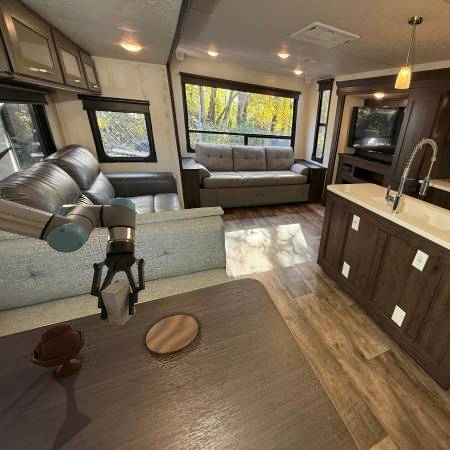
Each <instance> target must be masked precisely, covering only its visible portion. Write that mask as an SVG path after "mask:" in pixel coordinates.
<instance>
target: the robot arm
mask: <svg viewBox="0 0 450 450" xmlns="http://www.w3.org/2000/svg"><path fill="white" fill-rule="evenodd" d="M136 209H137V207H136V203H135V201H134V200H132V199H129V198H126V197H116V198H111V199H110V200H109V203H108V204H101V205H100V204H78V203H77V204H76V203H75V204H74V203H73V204H64V205H61V206H59V208H58V211H57V214H56V213H52V212H50V211H46V210H43V209H39V208H35V207H33V206H28V205H24V204H21V203H19V202H14V201H11V200H8V199H5V198H4V199H3V198H0V231H2V232H5V233H10V234H14V235H18V236H21V237H27V238H30V239H35V240H40V241H44V242H46V243H47V245H48V246H49V247H50V248H51V249H53V250H54V251H56V252H58V253H63V254H64V253H65V254H67V253H68V254H69V253H73V252H76V251H78V250H80V249H82V247H84V245H85V244H86V243H87V242H88V241H89V239H90V236H91V234H92V232H93V231H94V229H107V233H106V246H105V247H106V250H105V258H104V259H103V261H100V262H98V263H97V262H94V263H93V264H92V268H93V276H92V282H91V287H90V293H89V294H90V296H92V297H97V309H99V310H100V320H101V321H106V320H108V315H107V311H106V308H105V304H104V301H103V297H102V294H101V291H103V290H104V289H105V288H107V287H108V286H109V285H110V284H112V283H113V280H114V277H115V276H116V274H117V273H122V272H123V273H125V275H126V278H127V280H128V281H127V282H129V285H130V289H131V293H129V315H133V316H134V315H135V314H134V306H135V304H138V302H139V293H140V292H141V291H145V289H146V280H145V279H146V278H145V265H146V260H145V259H144V258H136V253H135V252H136V245H135V242H136V223H137V221H136V219H137V210H136ZM134 264H136V265H137V278H138V281H137V282H138V285H137V282H136V280H135V276H134V274H133V270H132V267H133V266H134ZM105 266H106V267H107V271H106V276H105V277H104V279H103V281H102V275H103V270H104V268H105ZM101 281H102V284H101Z"/></svg>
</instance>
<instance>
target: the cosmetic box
mask: <svg viewBox="0 0 450 450" xmlns="http://www.w3.org/2000/svg"><path fill="white" fill-rule="evenodd" d="M129 293H132V289H131V286H130V283H129V281H127V280H119V279H116V280H115V281H114V282H111V284H110V285H109V286H108V287H107V288H105V289H104V290H103V291H101V294H102V297H103V301H104V304H105V308H106V311H107V319H108V322H109V324H111V325H116V326H123V325H125V324H126V322H128V321H129V320H130V319H131V318H132V317H133V316H134V315H135V314H136V313H137V311H136V307H135V305H134V315H129Z"/></svg>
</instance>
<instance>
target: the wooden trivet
mask: <svg viewBox="0 0 450 450" xmlns="http://www.w3.org/2000/svg"><path fill="white" fill-rule="evenodd" d="M198 333H199V324H198V321H197V320H196V319H195V318H193V317H192V316H189V315H186V314H185V315H183V314H179V315H172V316H168V317H166V318H163V319H161V320H159V321H158V322H157V323H155V324H154V325H153V326H152V327H151V328H150V329H149V330H148V333H147V334H146V337H145V343H146V347H147V349H148V350H149V351H150V352H151V353H153V354H155V355H170V354H171V355H172V354H174V353H178V352H180V351H182V350H184V349H185V348H187V347H189V345H191V344H192V343H193V341H195V339H196V338H197V336H198V335H199V334H198Z"/></svg>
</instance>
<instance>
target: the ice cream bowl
mask: <svg viewBox="0 0 450 450" xmlns="http://www.w3.org/2000/svg"><path fill="white" fill-rule="evenodd" d="M85 344H86V339H85V334H84V331H83V330H79V329H74V328H73V326H72V324H70V323H69V322H57V323H54V324H52V325H49V327H47V328H46V329H44V332H43V333H42V334H41V336H40V339H39V341H37V342H36V344H35V346H34V347H33V348H32V350H31V351H30V363H32V364H34V365H36V366H38V367H39V366H40V367H43V368H47V369H49V368H54V367H57V368H56V369H55V377H56V378H59V379H63V378H66V377H70V376H71V375H73V374H75V373H76V372H78V370H79V369H80V367H81V365H82V364H81V363H82V362H81V361H80V360H79V359H75V358H76V357H77V356H78V355H79V353H80V352H81V351H82V349H83V348H84V346H85Z"/></svg>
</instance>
